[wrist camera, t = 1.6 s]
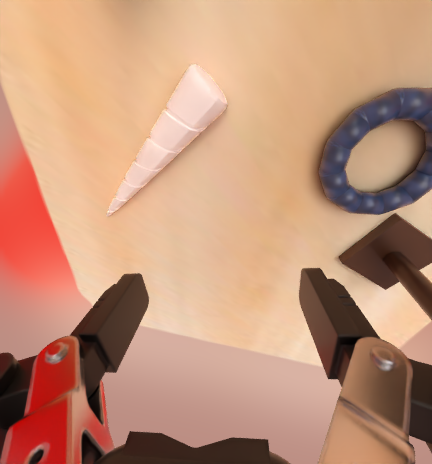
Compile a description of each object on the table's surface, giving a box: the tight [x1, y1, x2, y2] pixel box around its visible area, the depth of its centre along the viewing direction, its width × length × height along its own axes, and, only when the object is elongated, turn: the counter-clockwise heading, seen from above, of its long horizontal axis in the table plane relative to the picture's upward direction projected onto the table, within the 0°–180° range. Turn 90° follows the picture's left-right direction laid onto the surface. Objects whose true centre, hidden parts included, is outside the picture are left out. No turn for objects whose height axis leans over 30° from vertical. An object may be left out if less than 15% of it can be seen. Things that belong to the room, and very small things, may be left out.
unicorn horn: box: [107, 64, 228, 216], centre depth 25 cm, size 5×24×5 cm, turn 131°
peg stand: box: [339, 213, 432, 320], centre depth 25 cm, size 9×9×12 cm
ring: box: [319, 88, 432, 215], centre depth 22 cm, size 13×13×3 cm
